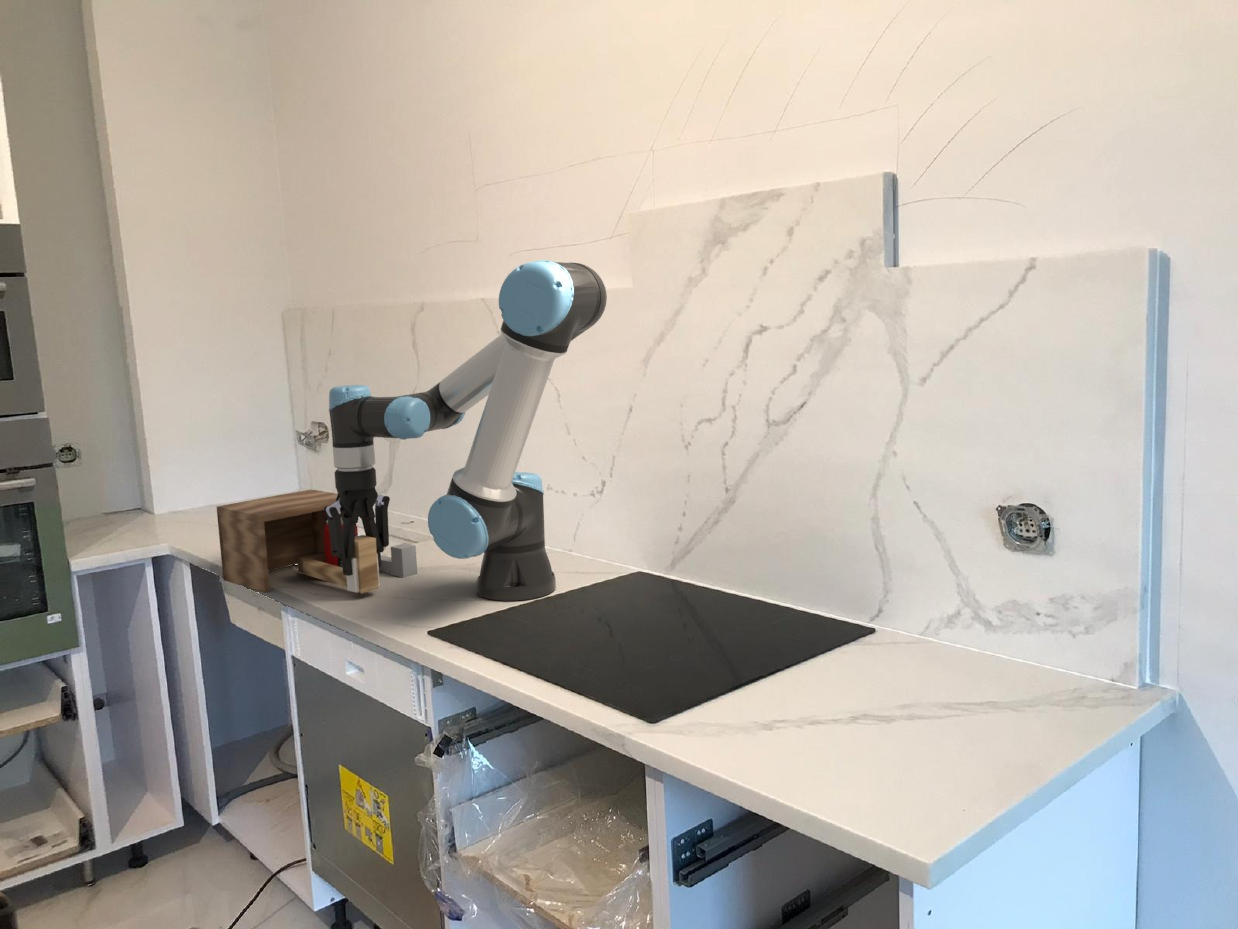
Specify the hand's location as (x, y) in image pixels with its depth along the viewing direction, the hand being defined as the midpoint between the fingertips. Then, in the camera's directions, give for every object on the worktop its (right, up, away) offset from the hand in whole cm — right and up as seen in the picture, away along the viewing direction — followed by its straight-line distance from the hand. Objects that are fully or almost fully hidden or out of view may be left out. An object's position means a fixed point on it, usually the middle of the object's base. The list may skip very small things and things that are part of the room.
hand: (363, 587), depth 191 cm
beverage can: (-8, 0, +14) cm, 16 cm away
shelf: (-19, +1, +18) cm, 26 cm away
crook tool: (-5, +1, +8) cm, 10 cm away
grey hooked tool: (+1, +1, +18) cm, 18 cm away
